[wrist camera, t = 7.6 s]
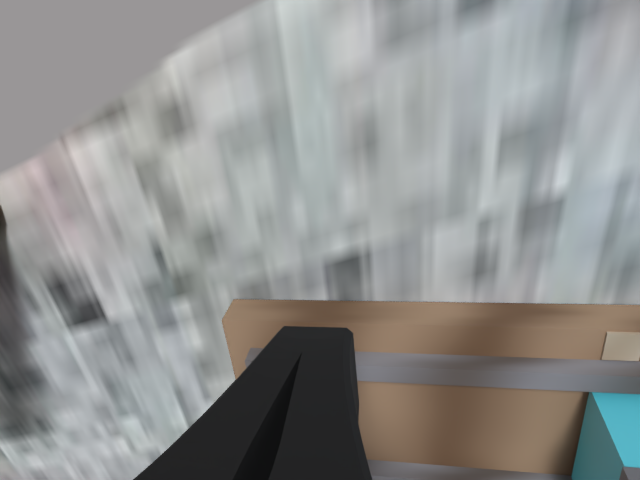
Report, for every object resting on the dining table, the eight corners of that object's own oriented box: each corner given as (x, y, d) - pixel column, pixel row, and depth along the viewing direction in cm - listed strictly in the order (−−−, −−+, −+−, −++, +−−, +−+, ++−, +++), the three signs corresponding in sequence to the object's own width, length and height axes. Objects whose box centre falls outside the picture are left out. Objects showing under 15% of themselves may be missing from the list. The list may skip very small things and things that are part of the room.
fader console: (765, 306, 17) (812, 350, 15) (693, 489, 21) (722, 541, 19) (233, 299, 21) (214, 332, 19) (267, 454, 25) (255, 494, 23)
